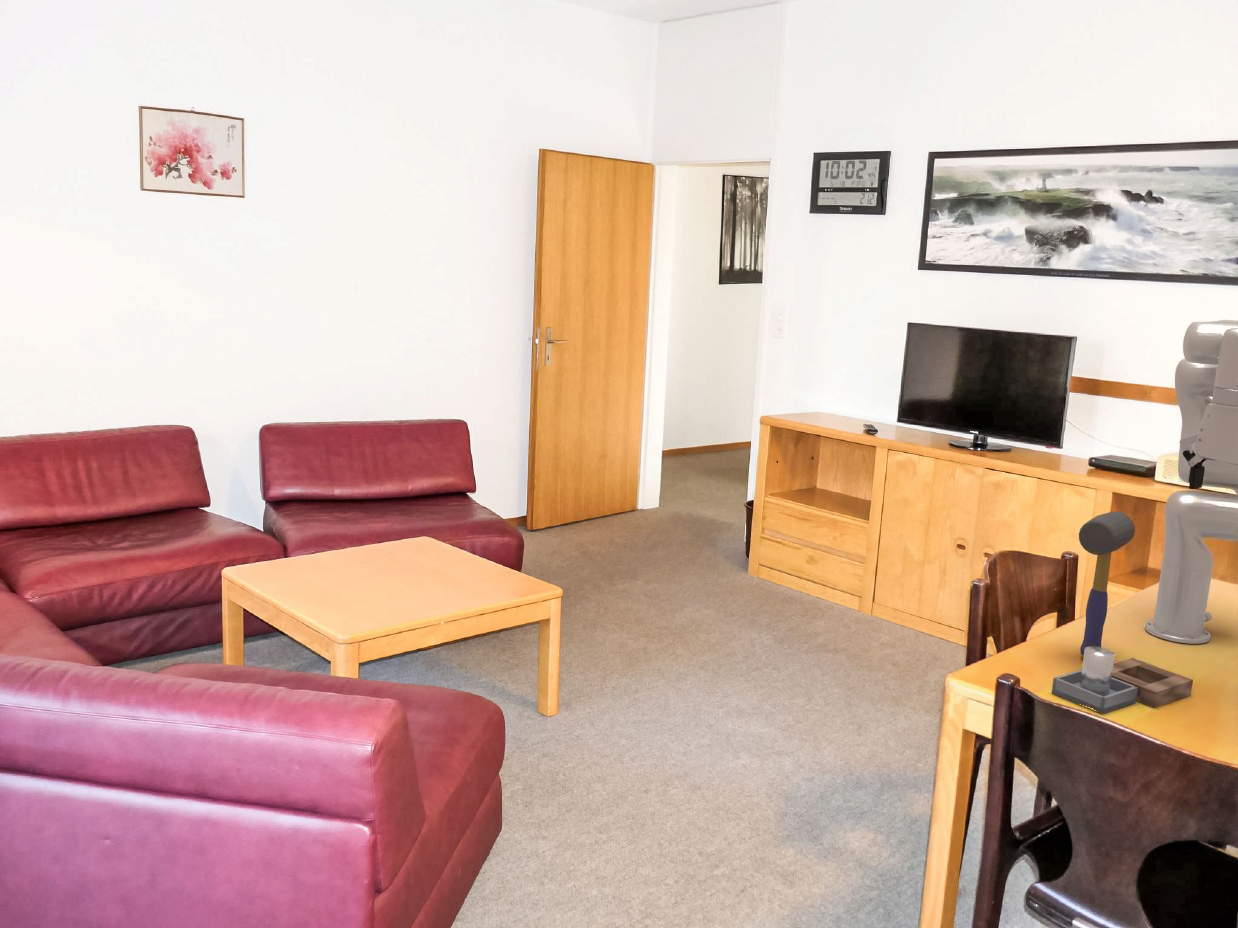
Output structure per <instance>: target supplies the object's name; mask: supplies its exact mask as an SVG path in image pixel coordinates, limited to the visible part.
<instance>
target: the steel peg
mask: <svg viewBox="0 0 1238 928" xmlns="http://www.w3.org/2000/svg"><path fill="white" fill-rule="evenodd" d="M1115 656H1116V653H1115V651H1113V650H1111V649H1108V648H1106V647H1102V646H1101V647H1096V646H1089V647H1086V648H1085V650H1084V658H1083V657H1082V659H1083V660H1082V665H1081V666H1082V667H1081V670H1082V673H1081V680H1080V687H1081V688H1083V689H1086V690H1088V691H1091V692H1093V693H1096V694H1098V695H1101V696H1106V695H1109V692H1110V685H1111V678H1112V671H1113V664H1114V662H1115Z"/></svg>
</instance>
